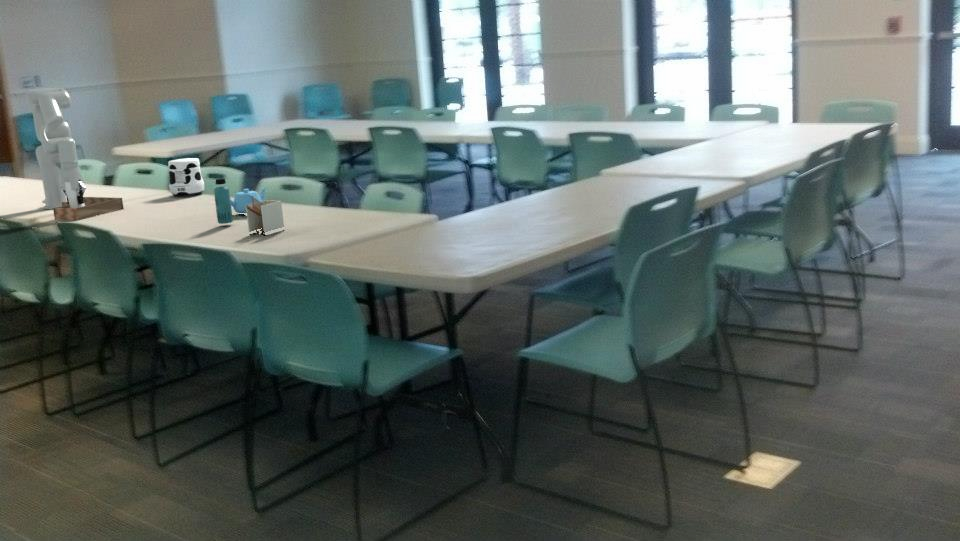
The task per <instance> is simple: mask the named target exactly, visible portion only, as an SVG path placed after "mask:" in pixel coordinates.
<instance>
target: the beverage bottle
mask: <svg viewBox="0 0 960 541" xmlns="http://www.w3.org/2000/svg"><path fill="white" fill-rule="evenodd" d="M226 183H227V182H226V179H225V178H217V179H215V186H216V187H215V188H214V189H213V192H214V193H213V194H214V203H215V209H216V217H217V218H216V219H217V223H218V224H221V225H222V224H231V223H233V220H234V218H233V217H234V216H233V208H232V206H231V202H230V199H231V197H230V188H229V187H228V186H226V185H225V184H226ZM219 185H221V186H219ZM222 185H224V186H222Z"/></svg>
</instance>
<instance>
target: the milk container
mask: <svg viewBox="0 0 960 541" xmlns="http://www.w3.org/2000/svg"><path fill="white" fill-rule="evenodd" d="M167 166H168V174H169V185H168V187H169V191H170V194H171V195H173V196H174V197H187V196H188V197H189V196H196V195H199V194H202V193H203V192H204V191H205V182H204V179H203V177H202V172H201V163H200V159H199V158H197V157H195V158H194V157H192V158H191V157H186V158H178V159H177V158H176V159H172V160H169V161H168V163H167Z"/></svg>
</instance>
